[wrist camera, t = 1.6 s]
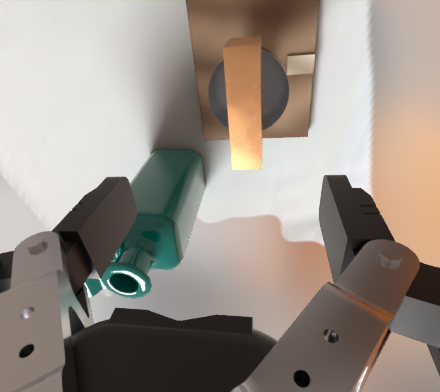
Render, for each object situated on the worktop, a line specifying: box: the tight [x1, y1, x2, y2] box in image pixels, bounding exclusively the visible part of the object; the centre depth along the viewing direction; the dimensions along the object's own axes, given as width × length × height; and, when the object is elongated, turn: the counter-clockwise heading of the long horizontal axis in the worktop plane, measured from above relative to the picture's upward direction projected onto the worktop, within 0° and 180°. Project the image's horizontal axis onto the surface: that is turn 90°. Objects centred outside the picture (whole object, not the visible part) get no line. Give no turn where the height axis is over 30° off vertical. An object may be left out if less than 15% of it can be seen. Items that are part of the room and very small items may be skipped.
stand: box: [186, 0, 319, 140], centre depth 31 cm, size 18×14×10 cm
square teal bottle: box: [84, 150, 205, 298], centre depth 37 cm, size 10×8×22 cm
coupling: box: [208, 35, 289, 170], centre depth 24 cm, size 10×7×8 cm
